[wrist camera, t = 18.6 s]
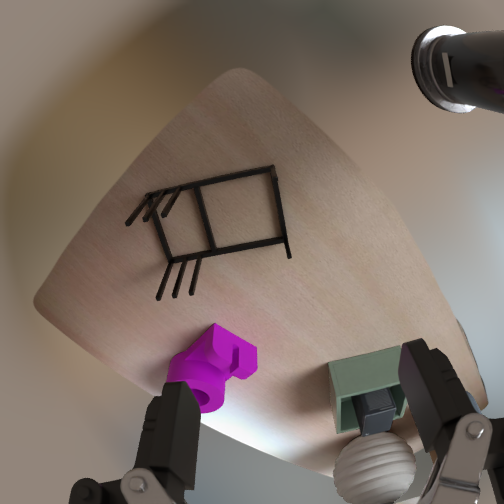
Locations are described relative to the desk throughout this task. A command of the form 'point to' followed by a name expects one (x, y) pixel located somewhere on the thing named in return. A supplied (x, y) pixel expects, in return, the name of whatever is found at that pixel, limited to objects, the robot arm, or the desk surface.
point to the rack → (214, 251)
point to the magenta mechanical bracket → (213, 365)
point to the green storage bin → (363, 384)
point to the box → (374, 411)
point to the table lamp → (375, 470)
